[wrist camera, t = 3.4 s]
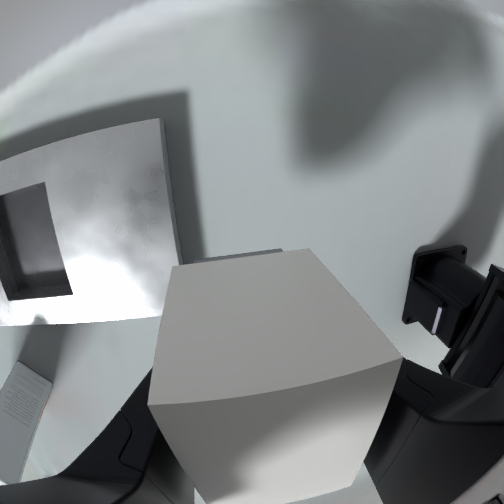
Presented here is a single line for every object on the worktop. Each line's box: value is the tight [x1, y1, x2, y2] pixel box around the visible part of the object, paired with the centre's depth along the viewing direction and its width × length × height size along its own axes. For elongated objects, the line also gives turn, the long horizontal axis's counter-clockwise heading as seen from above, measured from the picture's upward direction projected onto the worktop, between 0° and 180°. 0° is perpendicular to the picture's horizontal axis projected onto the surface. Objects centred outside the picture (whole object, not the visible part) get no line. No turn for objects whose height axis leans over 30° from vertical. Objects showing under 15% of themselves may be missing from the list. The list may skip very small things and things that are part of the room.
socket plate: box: [0, 118, 183, 326], centre depth 15 cm, size 16×11×2 cm
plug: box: [147, 248, 403, 504], centre depth 8 cm, size 4×6×6 cm
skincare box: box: [0, 361, 53, 485], centre depth 15 cm, size 6×4×12 cm
